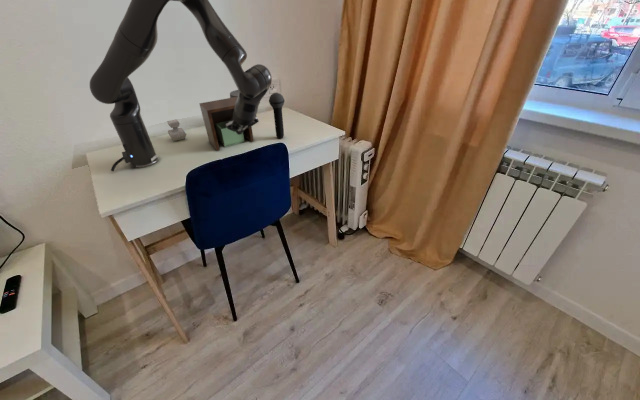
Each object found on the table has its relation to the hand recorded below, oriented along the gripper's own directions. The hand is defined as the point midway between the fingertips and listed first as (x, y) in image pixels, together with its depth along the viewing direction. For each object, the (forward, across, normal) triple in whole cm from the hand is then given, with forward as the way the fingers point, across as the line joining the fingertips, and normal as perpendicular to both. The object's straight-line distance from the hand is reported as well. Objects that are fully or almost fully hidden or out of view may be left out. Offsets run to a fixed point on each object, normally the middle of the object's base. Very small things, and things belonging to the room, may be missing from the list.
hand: (239, 132), depth 112 cm
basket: (+16, 0, -3) cm, 16 cm away
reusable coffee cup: (+28, -15, -16) cm, 36 cm away
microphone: (+9, -20, +4) cm, 22 cm away
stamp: (+28, +19, -15) cm, 37 cm away
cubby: (+16, 0, -3) cm, 16 cm away
